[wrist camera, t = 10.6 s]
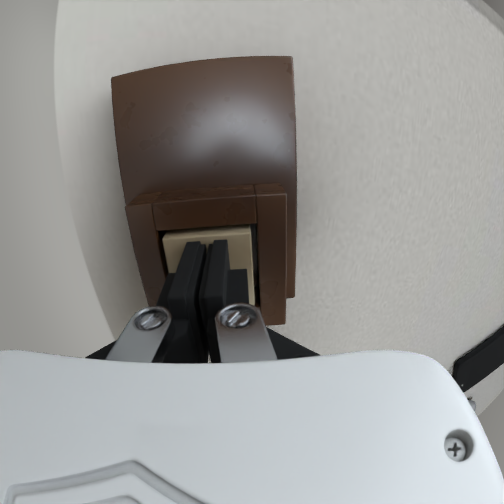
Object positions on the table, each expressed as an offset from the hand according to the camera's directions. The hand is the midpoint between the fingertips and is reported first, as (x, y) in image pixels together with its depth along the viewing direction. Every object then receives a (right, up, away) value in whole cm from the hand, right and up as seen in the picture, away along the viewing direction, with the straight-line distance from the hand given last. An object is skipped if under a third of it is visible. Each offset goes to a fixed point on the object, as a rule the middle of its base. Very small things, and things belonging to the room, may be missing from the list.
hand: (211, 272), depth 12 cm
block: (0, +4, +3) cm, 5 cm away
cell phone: (+33, -10, +12) cm, 37 cm away
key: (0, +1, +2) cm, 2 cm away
